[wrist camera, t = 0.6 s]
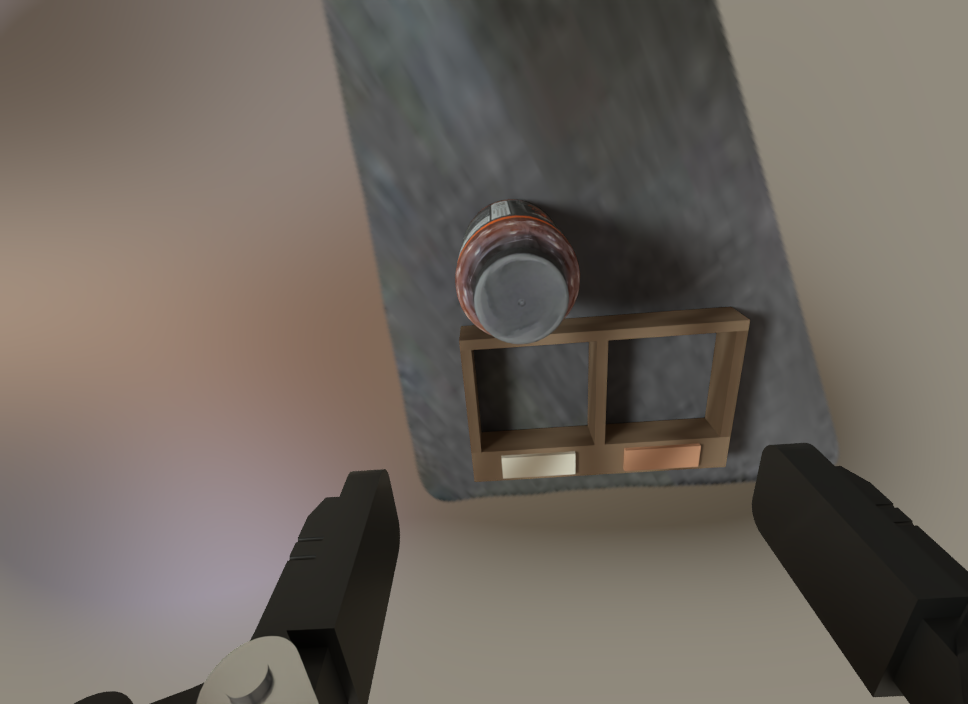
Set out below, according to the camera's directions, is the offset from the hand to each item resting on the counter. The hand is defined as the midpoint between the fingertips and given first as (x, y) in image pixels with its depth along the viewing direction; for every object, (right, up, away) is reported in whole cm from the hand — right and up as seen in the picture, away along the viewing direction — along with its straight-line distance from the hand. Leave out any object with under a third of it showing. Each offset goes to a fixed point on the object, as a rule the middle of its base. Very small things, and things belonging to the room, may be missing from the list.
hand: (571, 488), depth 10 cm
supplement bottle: (0, +10, +20) cm, 22 cm away
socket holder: (+6, 0, +24) cm, 25 cm away
